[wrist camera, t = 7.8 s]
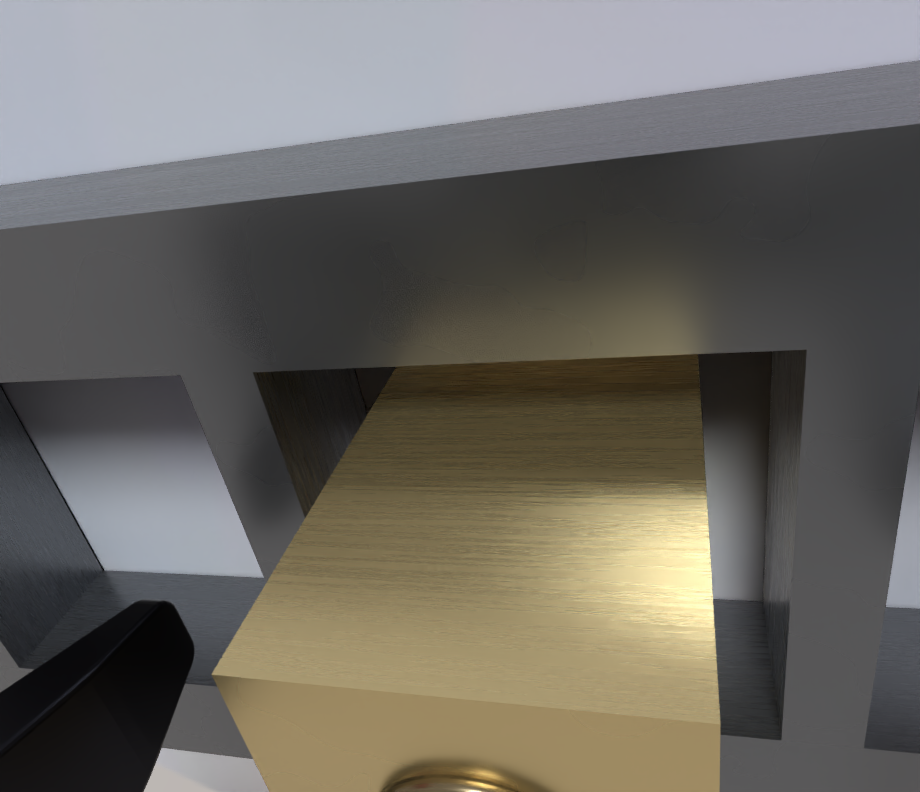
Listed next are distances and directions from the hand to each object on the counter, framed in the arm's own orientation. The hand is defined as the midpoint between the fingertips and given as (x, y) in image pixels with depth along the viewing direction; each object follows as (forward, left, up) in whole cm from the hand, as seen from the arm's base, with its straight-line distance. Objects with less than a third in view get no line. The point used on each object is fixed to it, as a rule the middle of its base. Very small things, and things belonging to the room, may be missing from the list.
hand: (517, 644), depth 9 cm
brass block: (0, 0, -4) cm, 4 cm away
